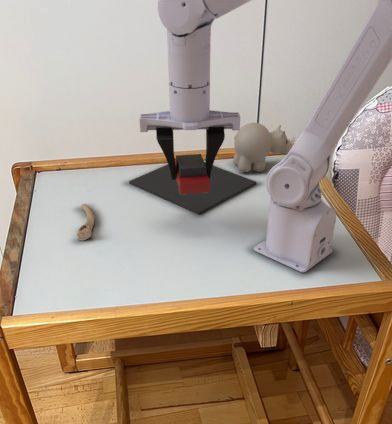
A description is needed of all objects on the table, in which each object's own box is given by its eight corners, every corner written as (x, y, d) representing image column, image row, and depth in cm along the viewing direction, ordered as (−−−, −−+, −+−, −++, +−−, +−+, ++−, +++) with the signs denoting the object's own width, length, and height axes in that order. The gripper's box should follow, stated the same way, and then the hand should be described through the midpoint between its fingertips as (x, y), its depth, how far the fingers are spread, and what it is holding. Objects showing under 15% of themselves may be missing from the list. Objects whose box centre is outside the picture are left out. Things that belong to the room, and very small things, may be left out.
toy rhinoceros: (297, 172, 102) (303, 128, 96) (237, 176, 101) (239, 132, 95) (286, 157, 107) (291, 114, 102) (229, 161, 106) (231, 118, 100)
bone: (96, 207, 92) (94, 196, 91) (93, 241, 84) (91, 229, 82) (81, 208, 92) (79, 197, 90) (77, 242, 84) (75, 230, 82)
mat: (256, 184, 98) (256, 181, 98) (199, 214, 90) (199, 212, 89) (187, 158, 107) (187, 155, 107) (129, 183, 99) (129, 181, 98)
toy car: (180, 199, 79) (209, 197, 79) (179, 173, 76) (210, 171, 77) (172, 174, 85) (200, 172, 86) (172, 149, 83) (200, 147, 83)
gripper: (135, 92, 69) (143, 189, 78) (244, 90, 70) (239, 187, 79) (137, 76, 74) (144, 169, 83) (239, 75, 75) (234, 167, 84)
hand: (190, 176), depth 81 cm, fingers closed on toy car, 5 cm apart
